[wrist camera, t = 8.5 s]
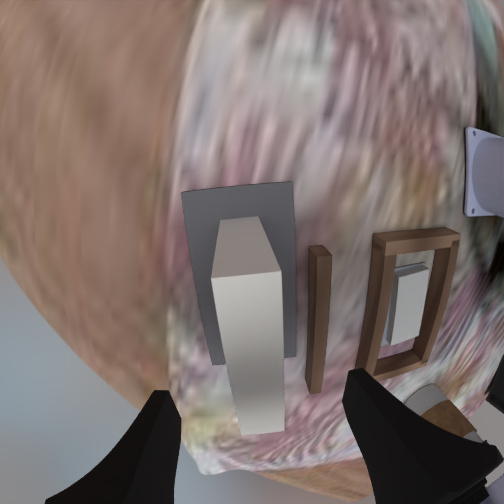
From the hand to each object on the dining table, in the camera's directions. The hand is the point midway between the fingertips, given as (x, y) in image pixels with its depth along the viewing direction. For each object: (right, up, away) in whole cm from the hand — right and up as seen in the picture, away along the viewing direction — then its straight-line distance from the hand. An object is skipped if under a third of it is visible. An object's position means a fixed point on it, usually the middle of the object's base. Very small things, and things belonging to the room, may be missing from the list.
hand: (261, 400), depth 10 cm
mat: (-1, +3, +10) cm, 10 cm away
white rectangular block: (-1, +3, +9) cm, 10 cm away
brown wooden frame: (+10, +1, +11) cm, 15 cm away
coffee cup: (+22, -14, +18) cm, 32 cm away
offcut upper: (+13, +1, +11) cm, 17 cm away
